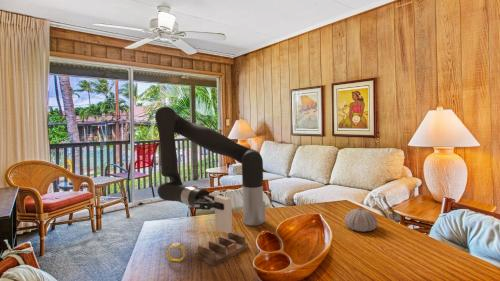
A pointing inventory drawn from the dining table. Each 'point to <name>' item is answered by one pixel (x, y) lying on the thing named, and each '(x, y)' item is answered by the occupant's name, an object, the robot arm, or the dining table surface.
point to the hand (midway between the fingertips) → (226, 206)
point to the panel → (223, 215)
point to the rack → (222, 249)
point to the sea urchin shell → (360, 220)
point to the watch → (176, 245)
